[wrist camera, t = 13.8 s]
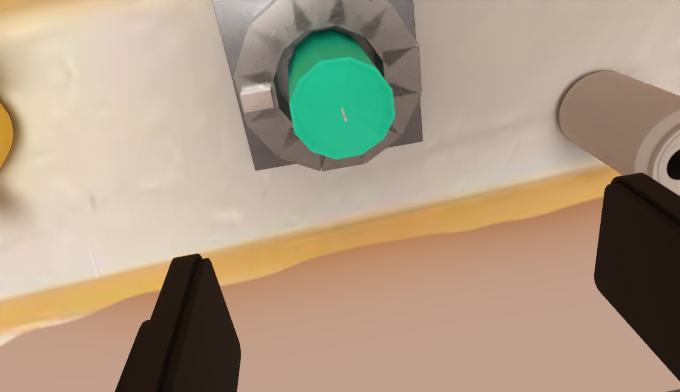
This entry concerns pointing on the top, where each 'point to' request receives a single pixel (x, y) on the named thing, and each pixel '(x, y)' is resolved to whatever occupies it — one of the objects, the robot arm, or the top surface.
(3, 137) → the teapot
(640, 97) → the beverage can
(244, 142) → the top surface
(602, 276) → the robot arm
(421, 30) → the top surface
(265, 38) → the hub
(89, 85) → the top surface
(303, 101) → the candle
